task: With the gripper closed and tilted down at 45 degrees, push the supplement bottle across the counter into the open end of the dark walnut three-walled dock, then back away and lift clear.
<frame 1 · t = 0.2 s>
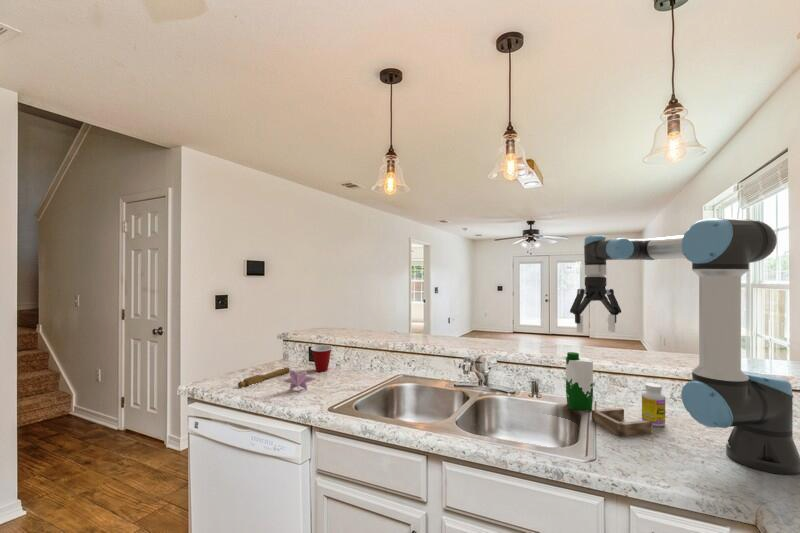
hand: (595, 332, 152), 27 cm above the worktop, tool pointing down, fingers open, 13 cm apart
tap handle: (265, 380, 186), on the worktop
milk carton: (579, 407, 148), on the worktop
lily: (298, 392, 168), on the worktop
supplement bottle: (653, 424, 133), on the worktop
walnut dock: (619, 426, 130), on the worktop
plastic cup: (321, 371, 202), on the worktop
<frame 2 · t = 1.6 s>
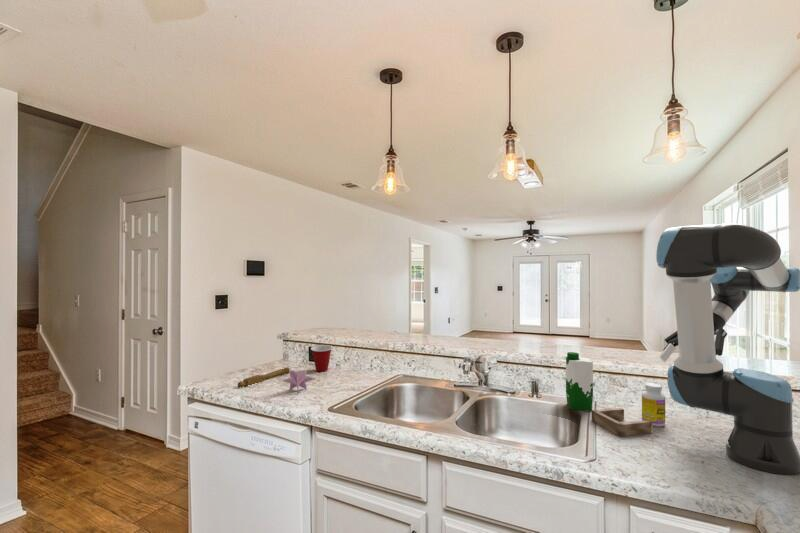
hand: (678, 363, 135), 19 cm above the worktop, tool tilted 45°, fingers open, 12 cm apart
nothing on the worktop moved.
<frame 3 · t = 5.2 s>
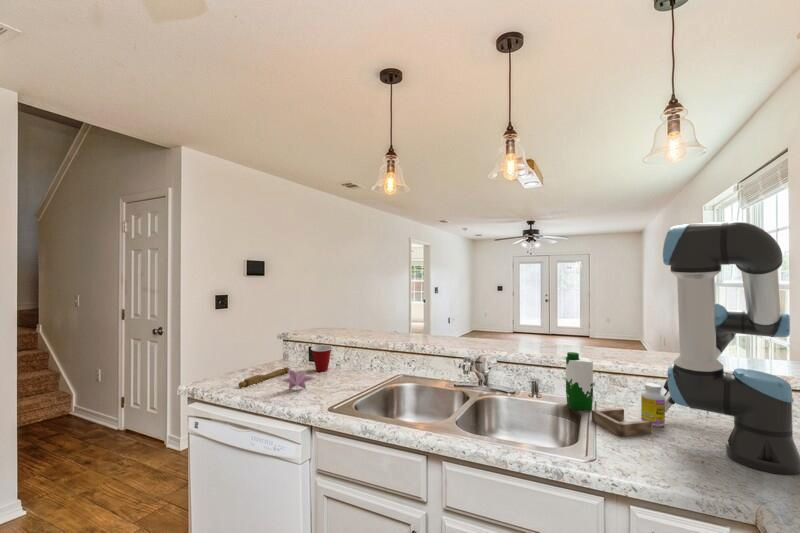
hand: (661, 409, 135), 4 cm above the worktop, tool tilted 45°, fingers closed
supplement bottle: (653, 424, 133), on the worktop, touching gripper
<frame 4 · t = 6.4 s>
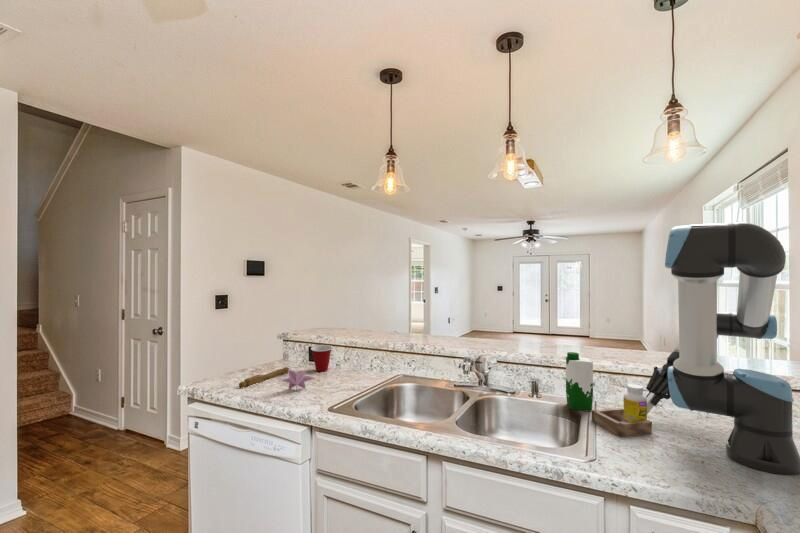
hand: (643, 410, 133), 4 cm above the worktop, tool tilted 45°, fingers closed
supplement bottle: (635, 425, 131), on the worktop, touching gripper
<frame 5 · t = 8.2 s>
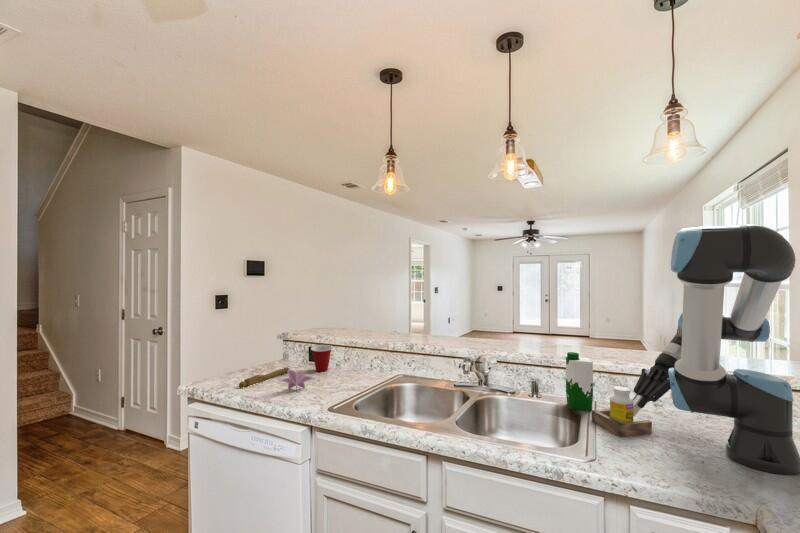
hand: (630, 413, 131), 4 cm above the worktop, tool tilted 45°, fingers closed
supplement bottle: (621, 428, 129), on the worktop, touching gripper
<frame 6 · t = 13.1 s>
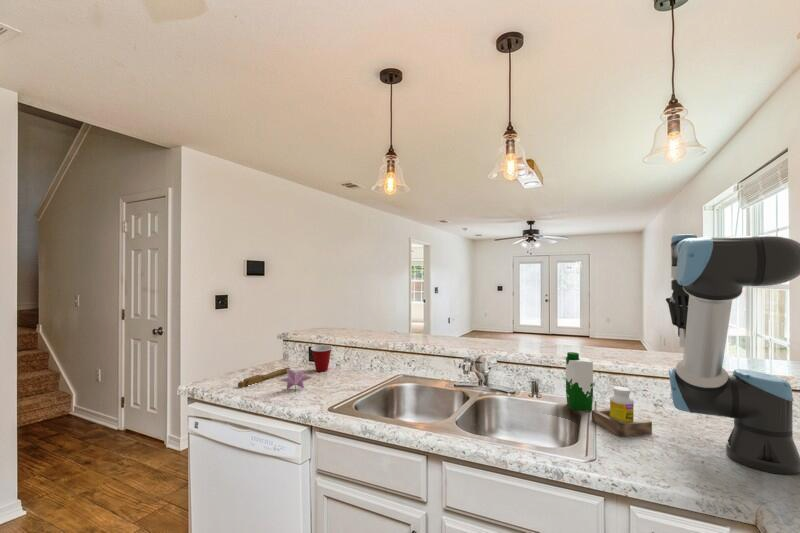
hand: (684, 347, 138), 24 cm above the worktop, tool pointing down, fingers closed
supplement bottle: (621, 428, 129), on the worktop
at the end: supplement bottle 1.2 cm from the walnut dock (horizontally); supplement bottle tilted 0°; supplement bottle moved 13.4 cm from its start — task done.
